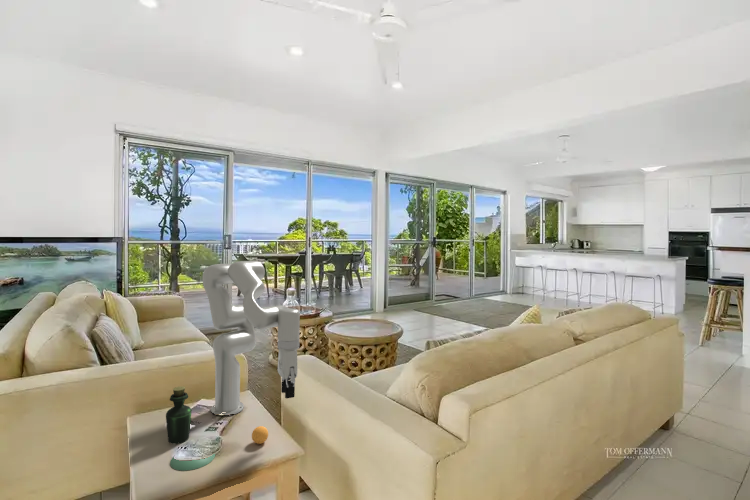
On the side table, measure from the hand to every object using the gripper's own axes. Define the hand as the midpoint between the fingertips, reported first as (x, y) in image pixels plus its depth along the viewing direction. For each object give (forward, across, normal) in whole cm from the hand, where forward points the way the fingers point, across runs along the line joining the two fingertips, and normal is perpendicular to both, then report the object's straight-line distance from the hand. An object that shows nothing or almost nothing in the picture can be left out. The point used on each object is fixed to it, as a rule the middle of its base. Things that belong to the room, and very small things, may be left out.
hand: (287, 394), depth 139 cm
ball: (+13, 0, -10) cm, 16 cm away
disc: (+15, +1, -30) cm, 34 cm away
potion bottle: (+16, -14, -34) cm, 40 cm away
